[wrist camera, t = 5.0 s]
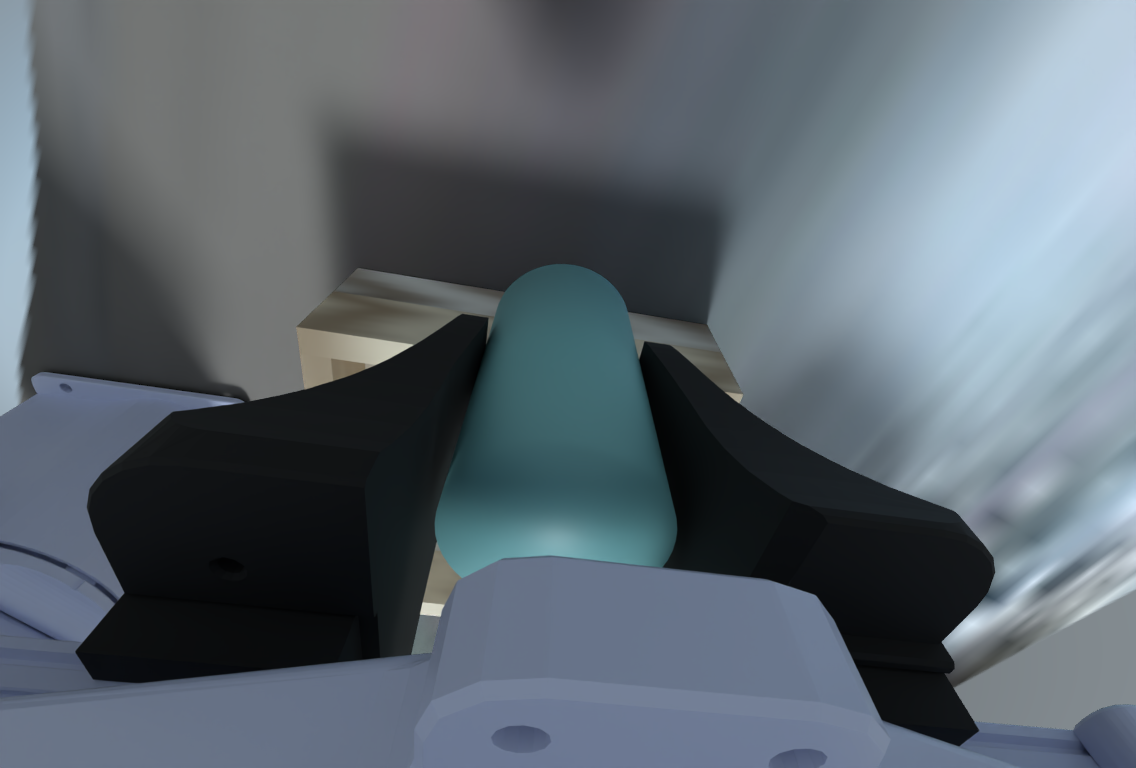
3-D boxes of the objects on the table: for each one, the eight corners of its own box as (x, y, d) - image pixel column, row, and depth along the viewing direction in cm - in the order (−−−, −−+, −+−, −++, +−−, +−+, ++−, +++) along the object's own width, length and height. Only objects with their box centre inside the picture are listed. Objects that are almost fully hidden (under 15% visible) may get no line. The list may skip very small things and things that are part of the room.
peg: (489, 376, 14) (431, 597, 8) (500, 253, 12) (437, 427, 6) (613, 393, 14) (644, 619, 9) (643, 276, 13) (709, 462, 7)
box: (371, 517, 29) (333, 605, 24) (358, 268, 21) (296, 326, 16) (627, 548, 30) (637, 637, 25) (707, 324, 22) (743, 394, 17)
